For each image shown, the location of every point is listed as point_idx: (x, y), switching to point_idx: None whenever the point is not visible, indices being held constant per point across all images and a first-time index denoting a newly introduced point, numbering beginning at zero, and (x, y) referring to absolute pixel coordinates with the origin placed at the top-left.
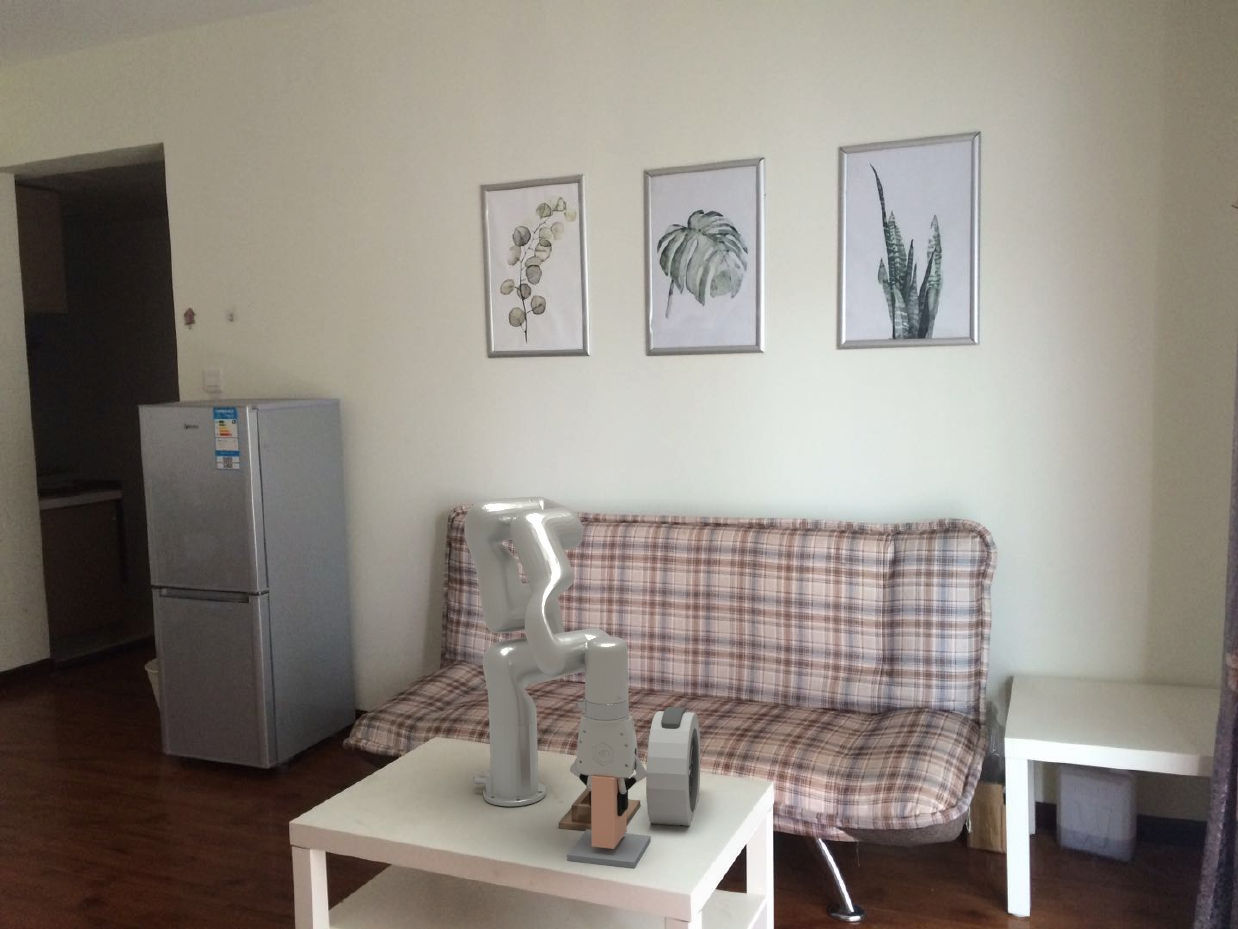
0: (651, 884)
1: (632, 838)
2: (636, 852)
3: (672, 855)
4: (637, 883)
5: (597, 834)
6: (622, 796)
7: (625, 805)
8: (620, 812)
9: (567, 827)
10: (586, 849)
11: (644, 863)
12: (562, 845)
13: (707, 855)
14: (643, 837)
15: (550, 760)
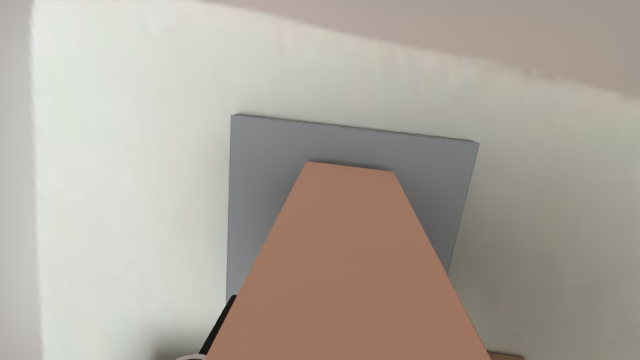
0: (157, 4)
1: None
2: (241, 190)
3: (149, 216)
4: (203, 4)
5: (373, 183)
6: None
7: (225, 307)
8: None
9: (495, 357)
10: (412, 193)
11: (216, 154)
12: (498, 249)
13: (57, 225)
14: None
15: None
